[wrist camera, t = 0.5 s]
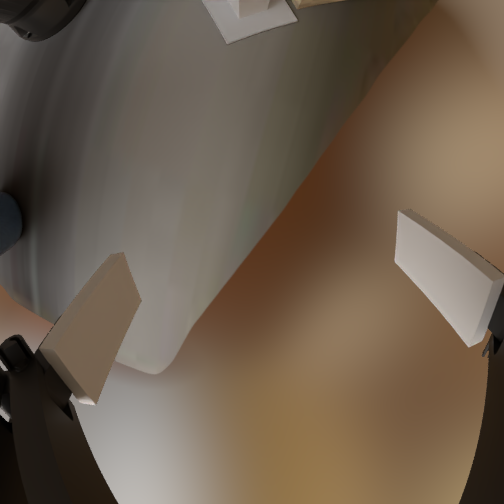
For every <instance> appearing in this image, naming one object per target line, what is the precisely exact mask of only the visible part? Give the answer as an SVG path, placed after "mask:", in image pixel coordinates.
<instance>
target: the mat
mask: <svg viewBox="0 0 504 504" xmlns="http://www.w3.org/2000/svg"><path fill="white" fill-rule="evenodd" d="M202 2H203V4H204V5H205V7H206V9H207V10H208V12H209V14H210V15H211V17H212V19H213V20H214V22H215V24H216V26H217V27H218V29H219V31H220V32H221V34H222V36H223V38H224V40H225V41H226V43H227V45H229V44H231V43H234V42H236V41H239V40H242V39H244V38H247V37H250V36H253V35H255V34H258V33H261V32H264V31H267V30H271V29H274V28H277V27H280V26H284V25H287V24H291V23H295V22H297V21H298V20H297V19H296V17H295V15H294V14H293V12H292V10H291V9H290V7H289V6H288V4H287V3H286V1H285V0H270V1H269V5H268V9H267V10H266V11H262V12H259V13H256V14H253V15H250V16H247V17H244V18H241V19H239V18H238V16H237V15H236V13H235V11H234V10H233V8H232V6H231V5H230V3H229V2H228V0H202Z"/></svg>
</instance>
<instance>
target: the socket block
mask: <svg viewBox="0 0 504 504" xmlns="http://www.w3.org/2000/svg"><path fill="white" fill-rule="evenodd" d="M291 1H292V2H293V4H294V5H295V7H296V9H301V8H306V7H310V6H315V5H320V4H326V3H332V2H338V1H345V0H291Z"/></svg>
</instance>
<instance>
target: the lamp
mask: <svg viewBox="0 0 504 504" xmlns="http://www.w3.org/2000/svg"><path fill="white" fill-rule="evenodd" d="M21 231H22V215H21V211H20V208H19V206H18V204H17V202H16V201H15V199H14V198H13V197H12V196H10V195H9V194H7V193H5V192H0V256H1V255H2V254H4V253H5V252H6V251H8V250H9V249H10V248H12V247H13V246H14V245H15V244H16V243H17V241H18V240H19V238H20V235H21Z"/></svg>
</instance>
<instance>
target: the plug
mask: <svg viewBox="0 0 504 504" xmlns="http://www.w3.org/2000/svg"><path fill="white" fill-rule="evenodd" d="M269 1H270V0H228V2H229V3H230V5H231V6H232V8H233V10H234V11H235V13H236V15H237V16H238V18H239V19H241V18H244V17H247V16H250V15H253V14H256V13H259V12H262V11H266V10H267V9H268V5H269Z"/></svg>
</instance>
